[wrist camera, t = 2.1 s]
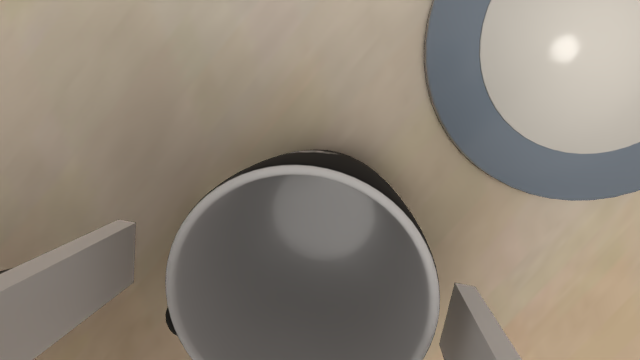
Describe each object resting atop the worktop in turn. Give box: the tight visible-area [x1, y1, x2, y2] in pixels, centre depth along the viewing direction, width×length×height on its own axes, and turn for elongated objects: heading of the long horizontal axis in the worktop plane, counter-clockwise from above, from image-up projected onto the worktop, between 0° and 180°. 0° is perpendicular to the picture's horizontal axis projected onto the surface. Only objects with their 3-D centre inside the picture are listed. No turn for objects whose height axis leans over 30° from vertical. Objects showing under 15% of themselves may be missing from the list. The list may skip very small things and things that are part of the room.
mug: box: [165, 150, 440, 360], centre depth 16 cm, size 12×9×10 cm
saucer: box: [424, 0, 640, 200], centre depth 17 cm, size 16×16×1 cm
